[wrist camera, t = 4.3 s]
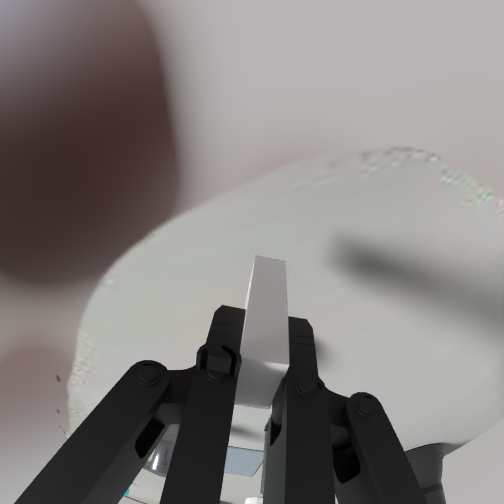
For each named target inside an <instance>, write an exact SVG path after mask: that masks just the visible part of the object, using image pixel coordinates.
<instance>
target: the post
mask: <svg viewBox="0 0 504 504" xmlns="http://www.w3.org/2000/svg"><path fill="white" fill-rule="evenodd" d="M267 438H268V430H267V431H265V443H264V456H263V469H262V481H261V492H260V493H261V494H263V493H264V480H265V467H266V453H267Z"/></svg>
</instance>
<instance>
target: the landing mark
mask: <svg viewBox="0 0 504 504" xmlns="http://www.w3.org/2000/svg"><path fill="white" fill-rule="evenodd" d="M263 456H264V451H258V450H250V449H243V448H236V447H230V446H228V449H227V456H226V462H225V469H224V473H228V474H235V475H242V476H250V477H252V476H253V474H254V473H255V471H256V470H257V469H258V467H259V466H260V464H261V463H262V461H263Z"/></svg>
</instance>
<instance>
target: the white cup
mask: <svg viewBox="0 0 504 504" xmlns="http://www.w3.org/2000/svg"><path fill="white" fill-rule="evenodd" d="M245 504H263V498H259V497H251V498H247V499H246V501H245Z"/></svg>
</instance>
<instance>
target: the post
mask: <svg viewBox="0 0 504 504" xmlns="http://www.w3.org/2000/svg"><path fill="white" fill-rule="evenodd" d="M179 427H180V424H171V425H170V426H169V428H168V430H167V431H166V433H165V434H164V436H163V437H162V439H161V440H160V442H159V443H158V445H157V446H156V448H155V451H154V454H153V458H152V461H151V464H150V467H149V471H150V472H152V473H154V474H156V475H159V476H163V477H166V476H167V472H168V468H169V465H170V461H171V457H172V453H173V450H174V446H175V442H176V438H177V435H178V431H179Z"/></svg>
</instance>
